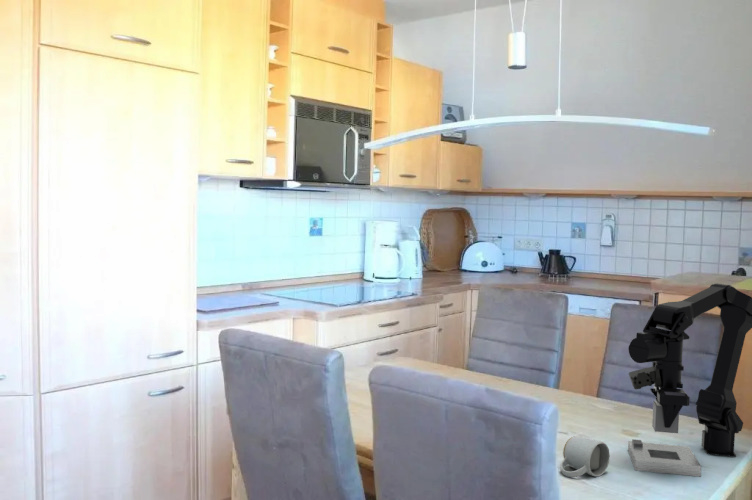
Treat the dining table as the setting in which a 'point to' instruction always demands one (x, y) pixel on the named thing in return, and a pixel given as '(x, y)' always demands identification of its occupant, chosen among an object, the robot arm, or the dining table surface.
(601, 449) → the ceramic mug
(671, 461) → the socket plate
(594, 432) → the dining table surface
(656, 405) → the plug
